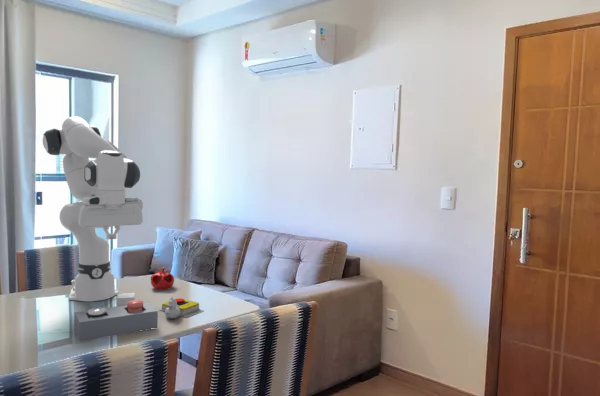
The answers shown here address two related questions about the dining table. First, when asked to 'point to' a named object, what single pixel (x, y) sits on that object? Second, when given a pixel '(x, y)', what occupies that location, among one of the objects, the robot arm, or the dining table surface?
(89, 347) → the dining table surface
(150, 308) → the block
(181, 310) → the emergency button
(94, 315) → the grey plunger
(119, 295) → the light grey cube
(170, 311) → the grey figurine
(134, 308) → the red plunger
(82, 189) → the robot arm
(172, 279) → the pomegranate
